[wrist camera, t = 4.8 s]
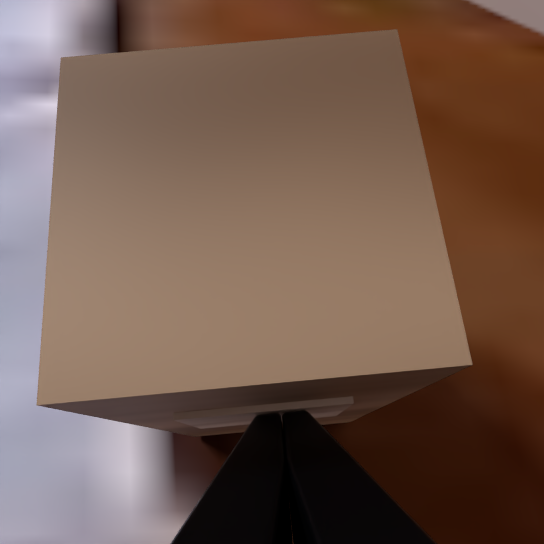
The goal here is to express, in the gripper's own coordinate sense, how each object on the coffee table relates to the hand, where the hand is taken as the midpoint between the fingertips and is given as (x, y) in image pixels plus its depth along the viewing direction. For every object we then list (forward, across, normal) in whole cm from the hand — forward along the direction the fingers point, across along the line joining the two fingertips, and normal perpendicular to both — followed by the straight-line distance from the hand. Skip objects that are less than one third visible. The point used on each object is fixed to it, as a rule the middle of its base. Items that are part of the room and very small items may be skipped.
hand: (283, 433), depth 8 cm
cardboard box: (+7, 0, -3) cm, 7 cm away
